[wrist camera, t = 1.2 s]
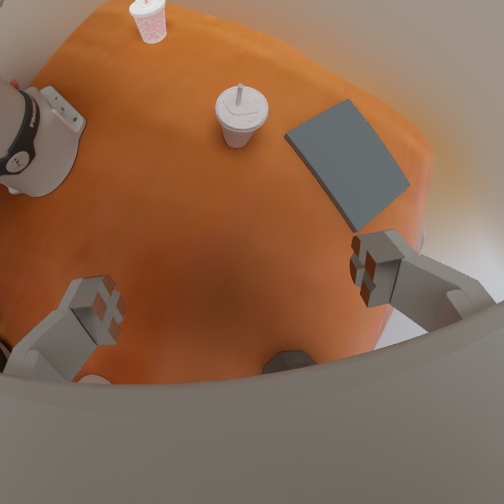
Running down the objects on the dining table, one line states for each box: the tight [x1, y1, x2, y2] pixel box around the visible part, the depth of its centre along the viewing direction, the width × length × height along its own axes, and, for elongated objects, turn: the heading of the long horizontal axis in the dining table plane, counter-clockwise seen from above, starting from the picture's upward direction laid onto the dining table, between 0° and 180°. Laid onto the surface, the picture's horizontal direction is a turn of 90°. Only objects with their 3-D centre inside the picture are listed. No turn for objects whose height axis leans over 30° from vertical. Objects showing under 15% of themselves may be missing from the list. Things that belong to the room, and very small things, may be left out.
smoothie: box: [215, 84, 268, 148], centre depth 33 cm, size 6×6×14 cm
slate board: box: [284, 99, 410, 232], centre depth 41 cm, size 18×14×2 cm
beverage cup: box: [129, 0, 167, 43], centre depth 31 cm, size 6×6×14 cm
